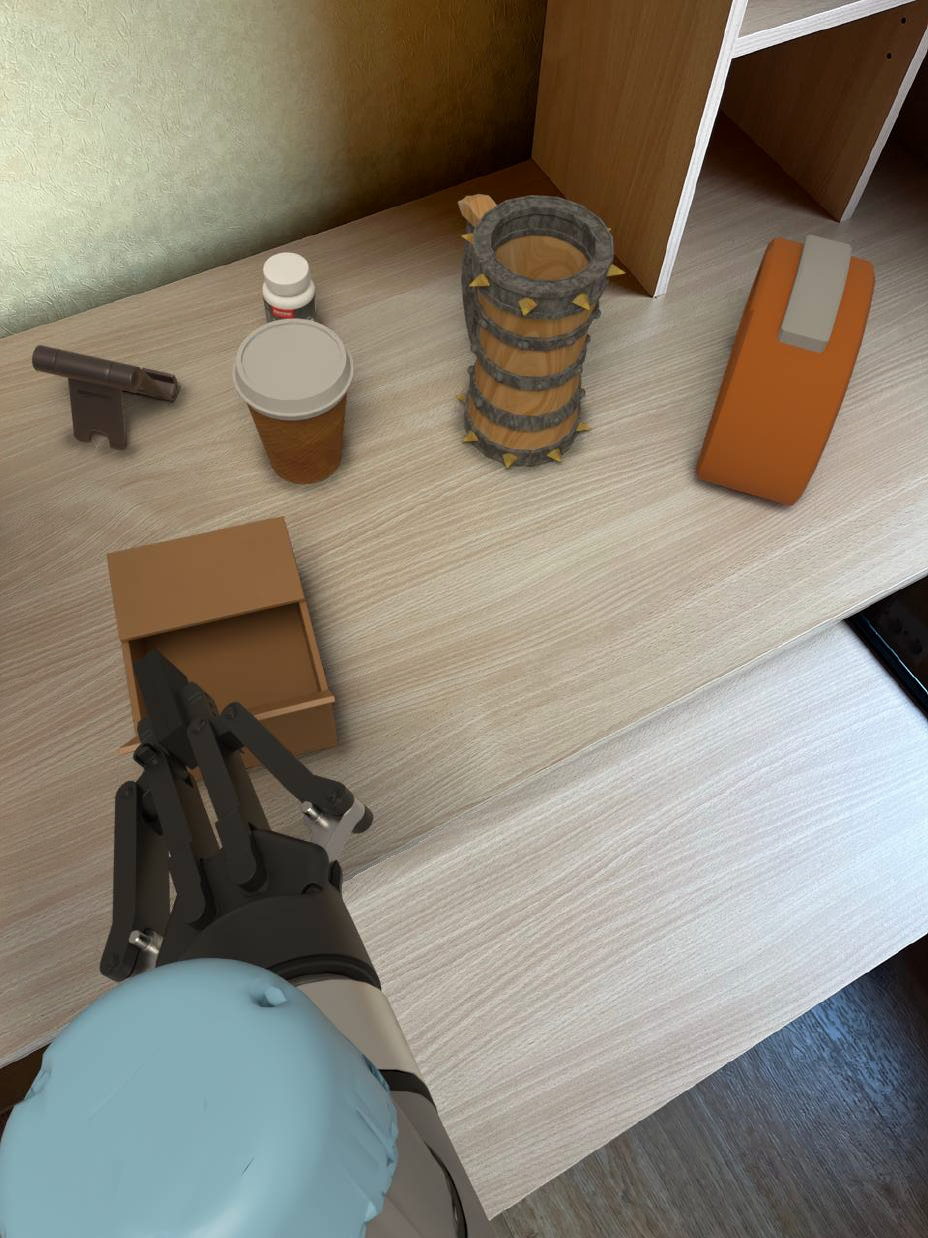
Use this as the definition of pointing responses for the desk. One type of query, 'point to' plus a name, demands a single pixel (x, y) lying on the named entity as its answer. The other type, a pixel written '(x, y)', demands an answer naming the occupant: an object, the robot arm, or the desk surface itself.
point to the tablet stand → (101, 389)
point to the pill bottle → (288, 288)
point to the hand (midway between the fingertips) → (159, 671)
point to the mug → (529, 321)
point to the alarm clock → (788, 368)
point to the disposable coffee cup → (296, 395)
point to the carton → (226, 625)
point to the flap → (265, 711)
